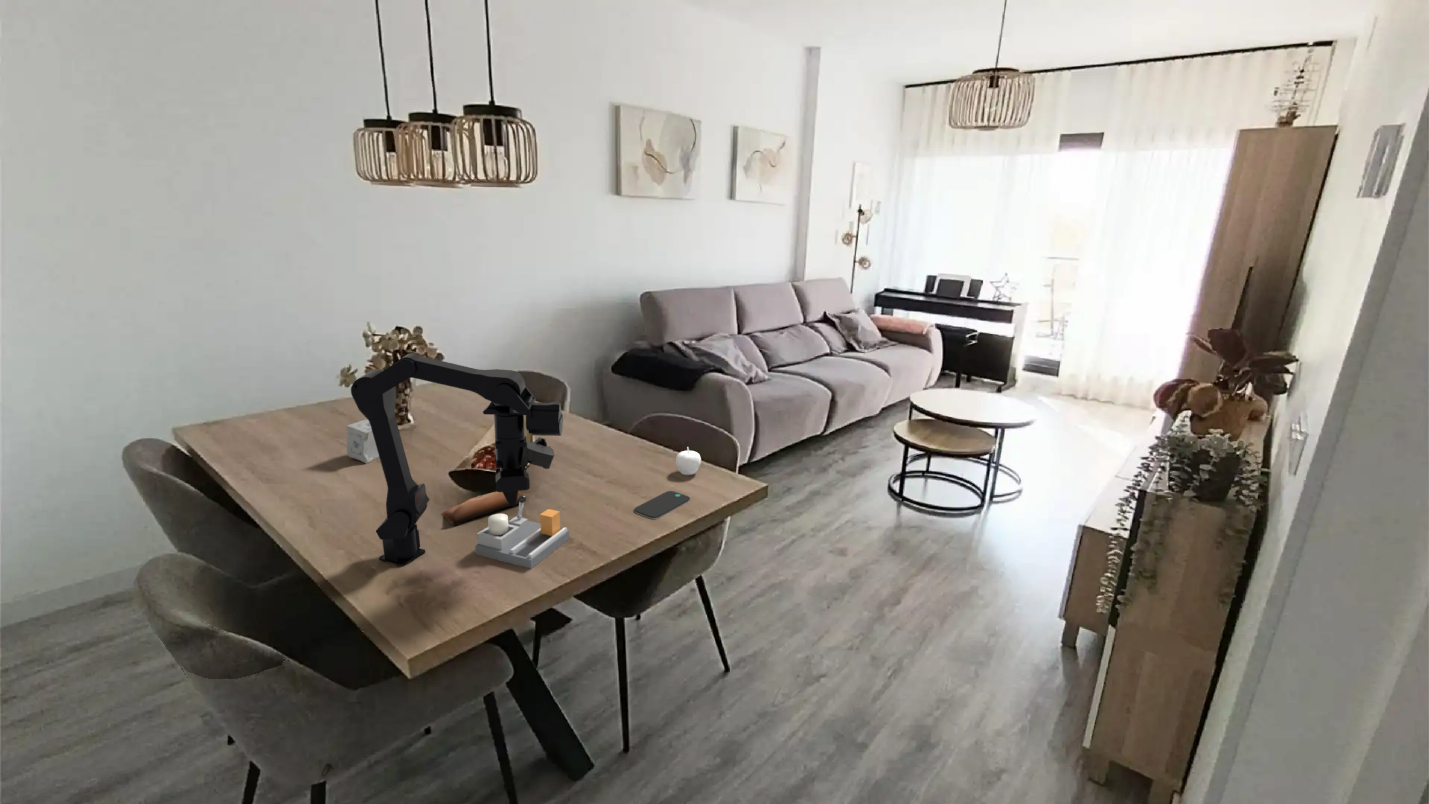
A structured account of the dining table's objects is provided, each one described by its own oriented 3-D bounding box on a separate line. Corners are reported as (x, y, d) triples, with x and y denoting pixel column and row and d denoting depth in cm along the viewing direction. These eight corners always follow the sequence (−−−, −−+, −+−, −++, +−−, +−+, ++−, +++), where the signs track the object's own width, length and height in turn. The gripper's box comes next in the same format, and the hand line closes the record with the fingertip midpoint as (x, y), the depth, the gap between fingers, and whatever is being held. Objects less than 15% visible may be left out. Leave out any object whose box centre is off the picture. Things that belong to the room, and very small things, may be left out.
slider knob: (552, 536, 143) (551, 517, 141) (540, 533, 144) (540, 514, 142) (560, 530, 145) (559, 511, 144) (548, 527, 146) (548, 508, 145)
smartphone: (692, 497, 168) (654, 518, 156) (692, 500, 168) (654, 521, 157) (669, 489, 172) (631, 509, 161) (669, 492, 173) (631, 512, 161)
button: (500, 536, 138) (499, 523, 137) (484, 532, 139) (483, 520, 138) (512, 528, 141) (511, 515, 140) (497, 524, 143) (496, 512, 142)
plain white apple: (670, 474, 183) (671, 447, 181) (683, 466, 189) (684, 440, 187) (692, 479, 180) (693, 452, 178) (704, 471, 186) (705, 445, 184)
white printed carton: (369, 464, 182) (364, 429, 179) (346, 459, 185) (342, 425, 182) (397, 453, 191) (393, 419, 188) (375, 448, 194) (371, 415, 191)
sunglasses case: (506, 492, 168) (512, 476, 164) (520, 513, 165) (526, 496, 161) (437, 514, 155) (442, 497, 151) (450, 537, 152) (455, 520, 149)
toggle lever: (519, 519, 147) (523, 495, 147) (513, 517, 148) (517, 494, 148) (524, 518, 149) (528, 495, 149) (518, 517, 150) (522, 494, 150)
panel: (531, 568, 134) (530, 549, 133) (475, 554, 139) (474, 535, 138) (569, 538, 147) (569, 520, 145) (517, 525, 151) (516, 508, 150)
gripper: (555, 448, 125) (556, 521, 130) (547, 417, 142) (548, 483, 147) (494, 451, 122) (497, 527, 126) (493, 420, 139) (496, 488, 143)
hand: (512, 505), depth 136 cm, fingers closed
